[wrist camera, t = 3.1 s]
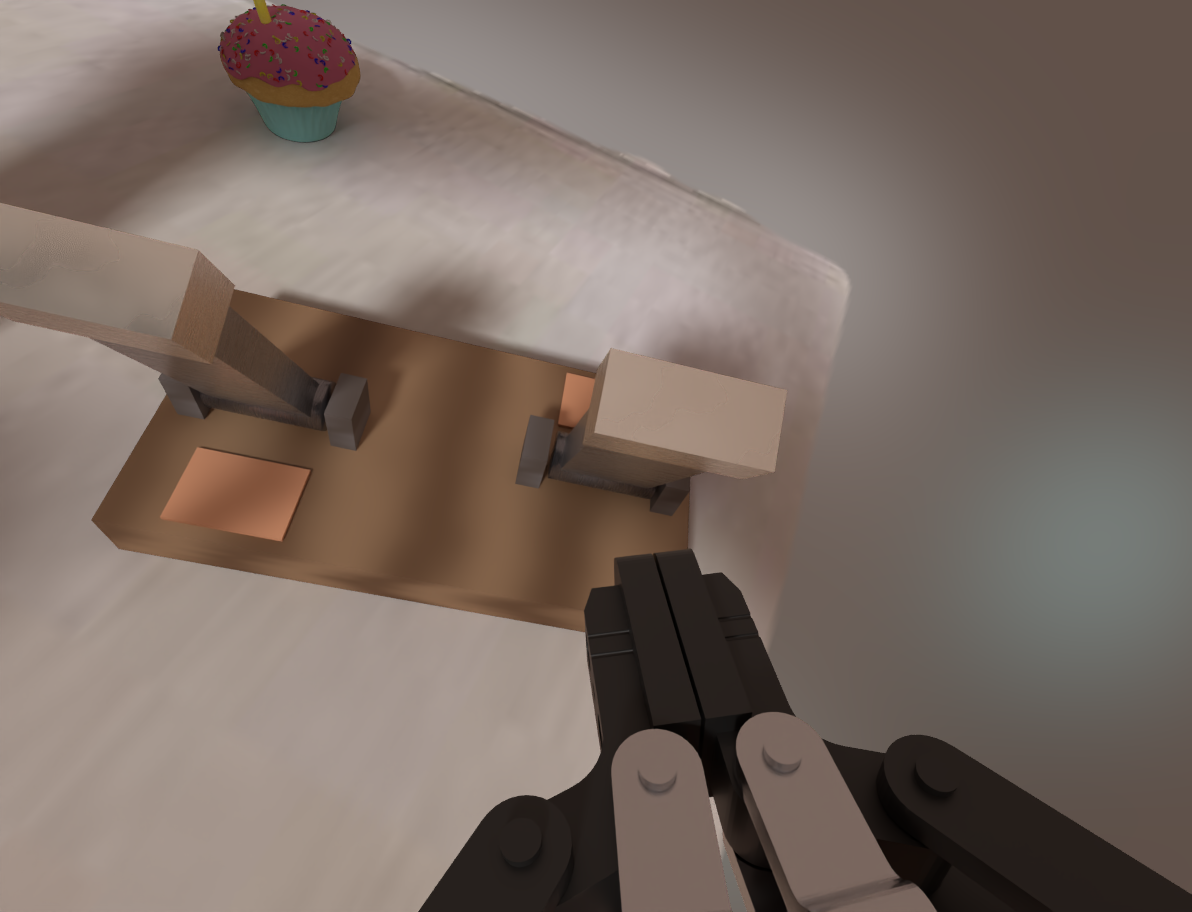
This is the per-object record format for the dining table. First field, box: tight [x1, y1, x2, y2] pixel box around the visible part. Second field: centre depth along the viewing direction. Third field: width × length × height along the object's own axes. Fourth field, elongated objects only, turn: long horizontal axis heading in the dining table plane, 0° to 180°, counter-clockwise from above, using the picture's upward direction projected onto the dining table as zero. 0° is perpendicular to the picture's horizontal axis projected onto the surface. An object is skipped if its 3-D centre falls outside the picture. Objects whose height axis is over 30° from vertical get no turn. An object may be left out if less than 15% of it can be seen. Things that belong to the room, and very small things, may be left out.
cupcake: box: [218, 0, 360, 142], centre depth 43 cm, size 9×8×12 cm
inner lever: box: [0, 203, 336, 432], centre depth 24 cm, size 5×2×16 cm, turn 84°
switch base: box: [92, 289, 690, 632], centre depth 33 cm, size 26×14×6 cm, turn 84°
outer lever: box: [548, 348, 787, 499], centre depth 26 cm, size 5×2×16 cm, turn 84°
